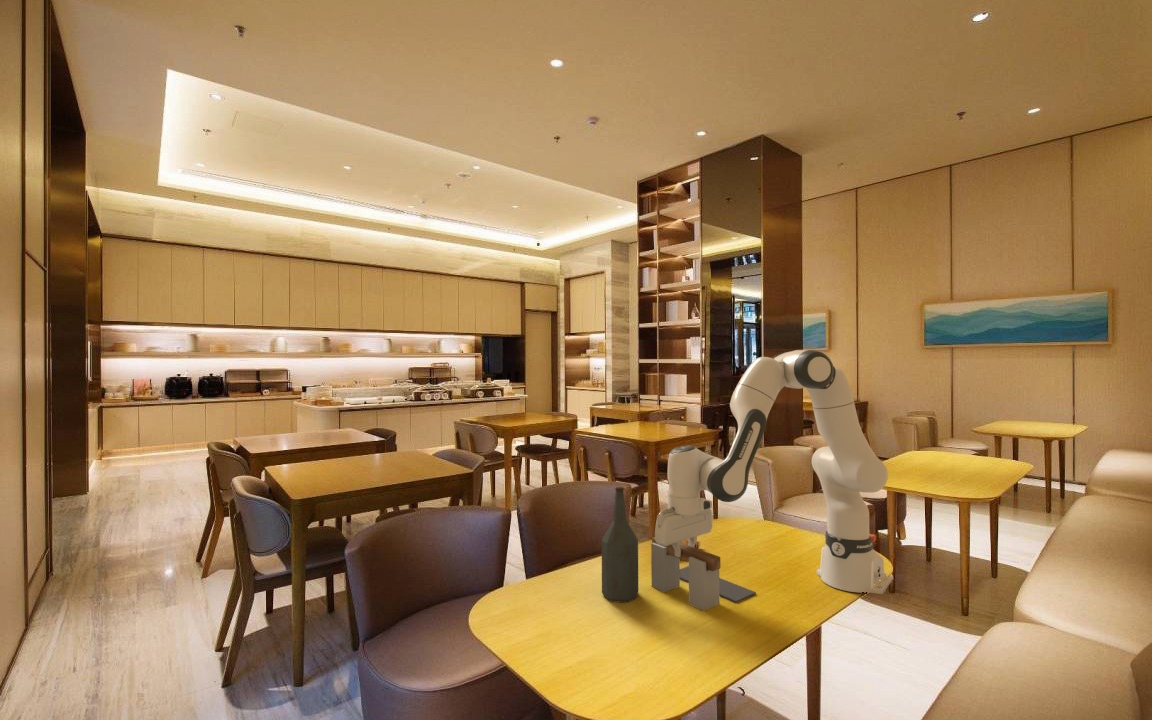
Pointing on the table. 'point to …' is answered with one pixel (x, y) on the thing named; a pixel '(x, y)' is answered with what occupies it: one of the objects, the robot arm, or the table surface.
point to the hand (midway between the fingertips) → (684, 554)
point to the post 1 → (664, 569)
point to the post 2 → (703, 585)
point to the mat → (724, 588)
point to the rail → (695, 555)
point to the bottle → (620, 556)
